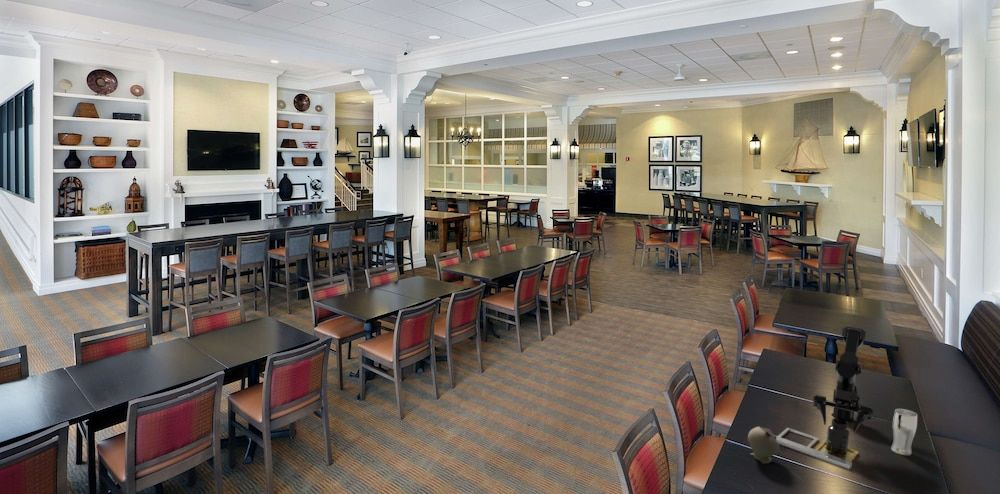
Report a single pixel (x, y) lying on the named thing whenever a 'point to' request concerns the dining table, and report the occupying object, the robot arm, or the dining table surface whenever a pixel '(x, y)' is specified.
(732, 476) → the dining table surface
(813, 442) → the tray
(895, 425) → the beer glass
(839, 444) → the supplement bottle
